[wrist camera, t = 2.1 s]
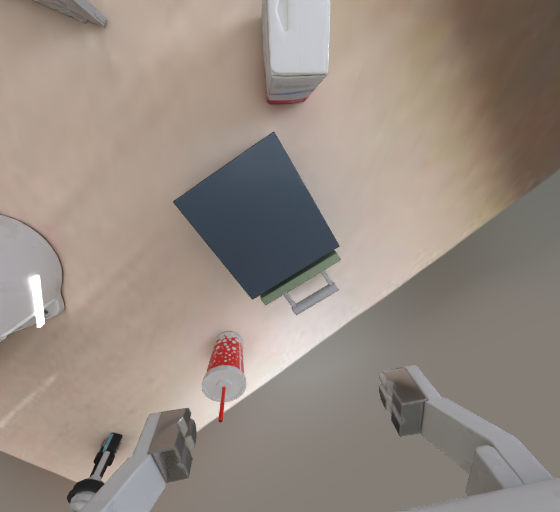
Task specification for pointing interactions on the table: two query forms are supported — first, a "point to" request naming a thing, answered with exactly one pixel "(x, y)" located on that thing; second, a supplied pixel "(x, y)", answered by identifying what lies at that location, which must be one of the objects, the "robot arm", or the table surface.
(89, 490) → the push button
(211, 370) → the beverage cup
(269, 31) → the ink box
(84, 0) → the cassette
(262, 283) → the cabinet
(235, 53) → the table surface
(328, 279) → the drawer
